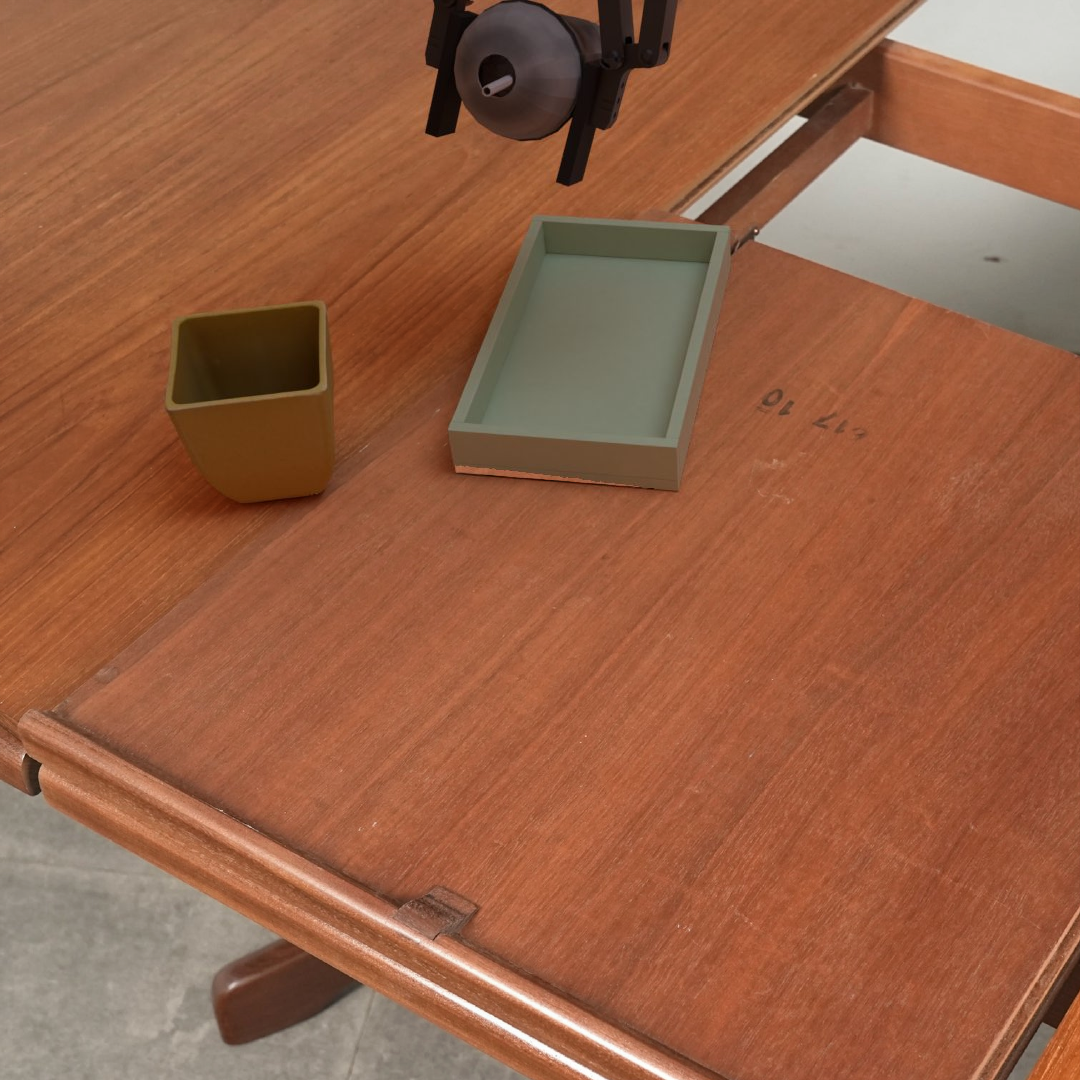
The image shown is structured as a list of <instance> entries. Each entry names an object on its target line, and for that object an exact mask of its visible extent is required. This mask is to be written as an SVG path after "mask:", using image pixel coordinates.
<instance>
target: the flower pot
mask: <svg viewBox="0 0 1080 1080" xmlns="http://www.w3.org/2000/svg"><path fill="white" fill-rule="evenodd" d="M170 340H171V342H170V358H169V359H170V360H169V368H168V374H167V383H166V390H165V396H164V409H165V411H166V413H167V415H168V417H169V419H170V421H171V423H172V426H173V427H174V429H175V431H176V434H178V436H179V439H180V440H181V442H182V444H183V446H184V449H185V450H186V452H187V454H188V457H189V458H190V460H191V462H192V464H193V465H194V467H195V468H196V470H197V471H198V472H199V474H200V475H201V476H202V478H203V479H204V481H206V482H207V483H208V484H209V485H210V486H211V487H213V488H214V489H215V490H216V491H217V492H219V493H221V495H223V496H225V497H227V498H229V499H230V500H233V501H235V502H237V503H240V504H252V503H259V502H267V501H275V500H281V499H283V500H284V499H292V498H299V497H309V495H310V496H314V495H313V494H316V493H320V492H322V491H323V490H324V491H325V490H326V488H327V486H328V484H329V482H330V480H331V477H332V474H333V472H334V466H335V460H336V437H335V436H336V434H335V432H336V431H335V373H334V362H333V351H332V344H331V343H332V342H331V335H330V326H329V318H328V309H327V305H326V303H325V302H324V301H323V300H308V301H307V300H306V301H295V302H290V303H289V302H288V303H280V304H272V305H263V306H254V307H245V308H237V309H227V310H217V311H216V310H215V311H207V312H199V313H190V314H184V315H181V316H176V317H175V318H174V319H173V320H172V323H171V339H170ZM324 491H323V492H324ZM323 492H322V493H323ZM320 494H321V493H320ZM316 495H317V494H316Z"/></svg>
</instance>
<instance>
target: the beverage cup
mask: <svg viewBox="0 0 1080 1080" xmlns="http://www.w3.org/2000/svg"><path fill="white" fill-rule="evenodd" d="M600 58H602V50H601V38H600V26H599V23H598V24H597V23H596V22H593V21H590V20H588V19H585V18H581V17H576V16H572V15H567V14H563V13H557V12H556V11H554V10H552V9H551V8H550V7H548V6H547V5H545V4H544V3H542V2H538V1H534V0H501V1H499V2H497V3H495V4H493V5H491V6H489V7H487V8H485V9H483V11H482V12H481V13H479V16H478V17H477V18H476V19H475V20H474V21H473V22H472V23H471V24H470V25H469V26H468V27H467V28H466V29H465V31H464V33H463V35H462V38H461V40H460V42H459V44H458V46H457V50H456V58H455V65H454V73H455V80H456V86H457V90H458V92H459V95H460V97H461V99H462V104H463V106H464V108H465V109H466V110H467V112H468V113H469V114H470V115H471V117H473V119H474V120H475V121H476V122H477V123H478V125H481V126H482V127H484V128H485V129H487V130H488V131H490V132H491V133H493V135H497V136H500V137H502V138H507V139H509V140H510V139H511V140H514V141H517V142H532V141H533V142H535V141H542V140H543V139H545V138H548V137H550V136H552V135H554V134H556V133H558V132H559V131H560V130H562V128H563V127H564V126H565V125H566V124H567V123H569V121H571V120H572V116H573V112H574V108H575V104H576V100H577V96H578V92H579V89H580V85H581V81H582V77H583V73H584V69H585V65H586V62H590V61H595V60H598V59H600Z"/></svg>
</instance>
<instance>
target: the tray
mask: <svg viewBox="0 0 1080 1080" xmlns="http://www.w3.org/2000/svg"><path fill="white" fill-rule="evenodd" d="M731 244H732V243H731V225H717V224H703V223H702V224H701V223H686V222H670V221H669V222H667V221H652V220H651V221H650V220H636V219H619V218H602V217H600V218H599V217H587V216H586V217H584V216H569V215H568V216H566V215H551V214H533V216H532V218H531V221H530V223H529V226H528V228H527V230H526V234H525V236H524V238H523V241H522V243H521V246H520V249H519V251H518V253H517V255H516V259H515V261H514V263H513V266H512V269H511V271H510V274H509V276H508V279H507V281H506V283H505V286H504V288H503V290H502V293H501V296H500V298H499V301H498V303H497V306H496V308H495V311H494V313H493V315H492V318H491V321H490V323H489V326H488V328H487V330H486V333H485V336H484V339H483V340H482V344H481V346H480V348H479V350H478V353H477V356H476V359H475V360H474V364H473V365H472V368H471V371H470V373H469V375H468V378H467V380H466V383H465V386H464V388H463V391H462V392H461V396H460V398H459V401H458V403H457V406H456V408H455V410H454V413H453V416H452V418H451V421H450V423H449V425H448V428H447V435H448V441H449V446H450V452H451V458H452V463H453V466H454V465H456V466H460V465H461V466H464V467H465V466H469V467H476V468H489V469H493V468H494V469H496V470H504V471H505V470H509V471H518V472H526V473H534V474H543V475H551V476H560V477H563V478H566V477H568V478H579V479H582V480H591V481H595V482H600V481H601V482H604V483H615V484H625V485H633V486H639V487H643V488H642V489H647V488H654V489H653V490H660V491H672V492H673V491H674V492H679V490H680V486H681V481H682V477H683V474H684V469H685V464H686V460H687V456H688V451H689V448H690V444H689V443H691V439H692V436H693V435H692V434H693V431H692V430H694V427H693V426H695V422H696V418H695V417H697V414H698V410H697V409H699V405H698V404H700V401H701V397H702V393H703V388H704V384H705V380H704V379H706V375H707V371H706V370H708V367H709V363H710V359H711V354H712V349H713V346H712V345H714V341H715V336H716V333H715V332H717V328H718V323H719V319H720V315H721V311H722V308H723V307H722V306H723V303H724V299H725V294H726V290H727V286H728V282H729V277H730V273H731V268H732V263H731V262H732V259H731V257H732V256H731V254H732V253H731V247H732V245H731ZM713 340H714V341H713ZM700 396H701V397H700ZM699 400H700V401H699ZM696 413H697V414H696ZM694 421H695V422H694ZM690 438H691V439H690ZM688 447H689V448H688Z"/></svg>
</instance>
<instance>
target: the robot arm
mask: <svg viewBox="0 0 1080 1080" xmlns="http://www.w3.org/2000/svg"><path fill="white" fill-rule="evenodd" d="M596 1H597V11H598V14H597V15H598V25H599V26H600V38H601V50H602V58H600V59H598V60H595V61H590V62H586V65H585V69H584V73H583V77H582V81H581V85H580V89H579V92H578V96H577V100H576V104H575V108H574V112H573V116H572V118H571V119H570V125H569V128H568V133H567V135H566V139H565V144H564V148H563V152H562V155H561V156H562V157H561V159H560V164H559V167H558V172H557V176H556V179H555V183H557V184H560V185H562V186H564V187H567V188H569V187H571V186H573V185H575V184H579V183H580V182H583V180H584V177H585V173H586V170H587V165H588V162H589V158H590V153H591V150H592V147H593V143H594V138H595V134H596V131H597V129H598V130H601V131H607V130H610V129H611V128H612V127H613V126H614V125H615V123H616V122H617V120H618V116H619V112H620V109H621V105H622V101H623V97H624V94H625V90H626V87H627V83H628V79H629V76H630V74H631V73H632V71H634V69H653V68H657V67H660V66H663V65H665V64H666V63H667V62H669V58H670V55H671V48H672V42H673V41H672V40H673V35H674V29H675V22H676V14H677V8H678V3H679V0H643V7H642V14H641V20H640V21H641V22H640V27H639V33H638V42H636V41H635V28H634V13H633V0H596ZM432 3H433V6H434V7H433V12H432V17H431V23H430V27H429V32H428V37H427V41H426V42H427V43H426V47H425V52H424V57H425V65H426V66H428V67H431V68H434V69H436V70H437V73H436V78H435V83H434V88H433V92H432V97H431V102H430V107H429V112H428V117H427V120H426V125H425V130H424V134H426V135H429V136H431V137H433V138H437V139H438V138H441V137H445V136H449V135H452V134H455V133H456V129H457V125H458V121H459V116H460V112H461V107H462V104H463V101H462V99H461V97H460V95H459V92H458V90H457V86H456V80H455V73H454V65H455V58H456V50H457V46H458V44H459V42H460V40H461V38H462V35H463V33H464V31H465V29H466V28H467V27H468V26H469V25H470V24H471V23H472V22H473V21H474V20H475V19H476V18H477V17H478V16H479V15H480V13H476V12H473V11H470V10H466V7H469V6H471V5H473V4H474V3H475V1H474V0H432Z"/></svg>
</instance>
